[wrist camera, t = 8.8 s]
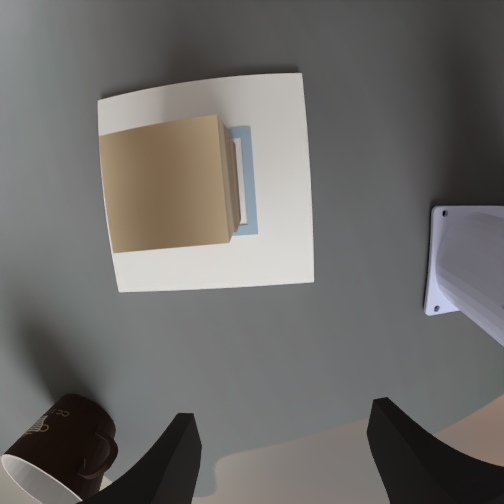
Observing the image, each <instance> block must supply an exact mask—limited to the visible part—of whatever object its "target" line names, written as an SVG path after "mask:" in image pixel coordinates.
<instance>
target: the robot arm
mask: <svg viewBox="0 0 504 504" xmlns="http://www.w3.org/2000/svg"><path fill="white" fill-rule="evenodd" d="M444 210H445V215H444V216H443V215H442V213H443V211H444ZM435 306H437V308H436V309H435V310H434V308H435ZM458 310H461V311H462V312H463V313H464V314H465V315H467V316H468V317H469V318H470V319H472V320H473V321H474V322H475V323H477V324H478V325H479V326H480V327H481V328H483V329H484V330H485V331H486V332H487V333H489V334H490V335H491V336H492V337H493V338H494V339H496V340H497V341H498V342H499V343H500V344H501V345H503V346H504V206H435V207H434V208H433V209H432V212H431V236H430V253H429V266H428V277H427V287H426V295H425V303H424V312H425V313H426V314H427V315H436V314H441V313H447V312H453V311H458ZM367 437H368V441H369V445H370V449H371V452H372V456H373V458H374V461H375V463H376V466H377V468H378V471H379V473H380V476H381V478H382V481H383V484H384V486H385V489H386V491H387V494H388V497H389V501H390V504H504V467H502V466H497V465H494V464H490V463H487V462H484V461H481V460H478V459H475V458H473V457H470V456H468V455H465V454H464V453H461V452H459V451H457V450H455V449H454V448H452V447H450V446H448V445H447V444H445V443H443V442H442V441H440V440H438V439H437V438H435V437H434V436H433V435H431V434H430V433H428V432H427V431H426V430H425V429H423V428H422V427H421V426H420V425H418V424H417V423H416V422H415V421H413V420H412V419H411V418H410V417H409V416H408V415H407V414H405V413H404V412H403V411H402V410H401V409H400V408H399V407H398V406H397V405H395V404H394V403H393V402H392V401H391V400H390V399H389V398H388V397H385V398H380V399H374V400H373V404H372V409H371V414H370V419H369V424H368V429H367ZM201 449H202V444H201V441H200V437H199V433H198V430H197V426H196V422H195V418H194V414H193V413H178V414H177V415H176V416H175V418H174V419H173V421H172V422H171V423H170V425H169V426H168V427H167V429H166V430H165V431H164V433H163V434H162V435H161V436H160V438H159V439H158V440H157V441H156V442H155V444H154V445H153V446H152V447H151V448H150V450H149V451H148V452H147V453H146V454H145V455H144V456H143V457H142V458H141V459H140V460H139V461H138V462H137V463H136V464H135V465H134V466H133V467H132V468H131V469H130V470H128V471H127V472H126V473H125V474H124V475H122V476H121V477H120V478H119V479H117V480H116V481H115V482H113V483H112V484H111V485H109V486H107V487H106V488H104V489H103V490H101V491H99V492H98V493H96V494H94V495H92V496H90V497H89V498H87V499H85V500H83V501H80V502H78V503H76V504H191V502H192V498H193V494H194V489H195V485H196V481H197V477H198V472H199V468H200V460H201Z"/></svg>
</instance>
